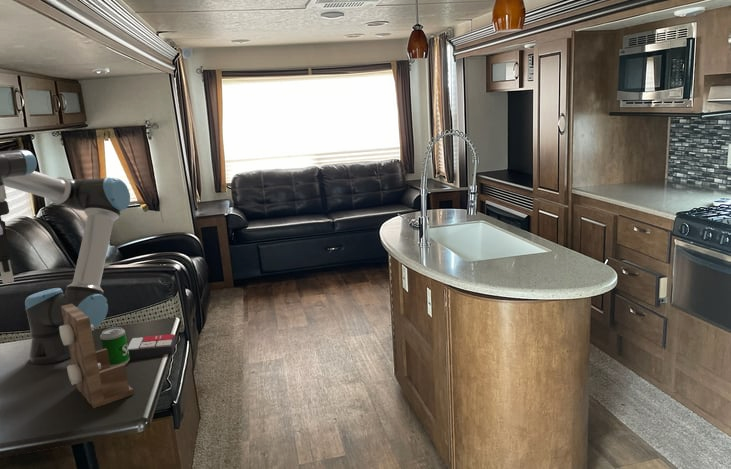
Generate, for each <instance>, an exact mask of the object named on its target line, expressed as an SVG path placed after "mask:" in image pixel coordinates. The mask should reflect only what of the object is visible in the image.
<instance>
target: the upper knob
mask: <svg viewBox="0 0 731 469" xmlns="http://www.w3.org/2000/svg"><path fill="white" fill-rule="evenodd" d="M59 330H60V336H61V339H62V342H63V344H64V345H69V344H72V343H75V337H74V332H73V329H72V327H71V325H70V324H66V325H63V326H60V327H59ZM91 331H92V332H93V331H95V328H94V326H93V324H92V325H91Z"/></svg>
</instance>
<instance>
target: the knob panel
mask: <svg viewBox="0 0 731 469" xmlns="http://www.w3.org/2000/svg"><path fill="white" fill-rule="evenodd" d="M61 310H62V315H63V320H64V325H66V324H70V325H71V327H72V329H73V332H74V337H75V343H72V344H69V345H68V346H69V351H70V356H71V357H70V360H71V365H72V364H75V363H77V364H78V365H79V367H80V369H81V374H82V382H80V383H77V384H75V386H76V389H77V390H78V391H79V393H80V392H81V393H82V394H81V393H80V394H81V395H82V397H84V398H86V399H87V400H86V399H85V400H86V401H87V402H88V403H89V405H90V404H91V405H92V406H91V405H90V406H91V407H92V408H93V409H96V407H97V408H99V407H102V406H105V405H108V404H111V403H112V402H113V403H114V402H115V401H118V400H121V399H124V398H126V397H127V398H128V397H129V396H132V395H134V389H133V387H131V386H130V385H129V381H128V380H129V379H128V374H127V369H126V365H125V364H120V365H117V366H114V367H110V361H109V356H108V350H107V349H106V348H105V349H102V348H101V349H100V350H96V347H95V342H94V338H93V331H91V325H90V320H89V317H88V316H87V315H86V314H84V313H83V312H82V311H81V310H79V309H78V308H77V307H76V306H74V305H73V304H68V305H64V306H61ZM98 363H100V364H101V369H98ZM101 405H102V406H101ZM98 406H99V407H98Z"/></svg>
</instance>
